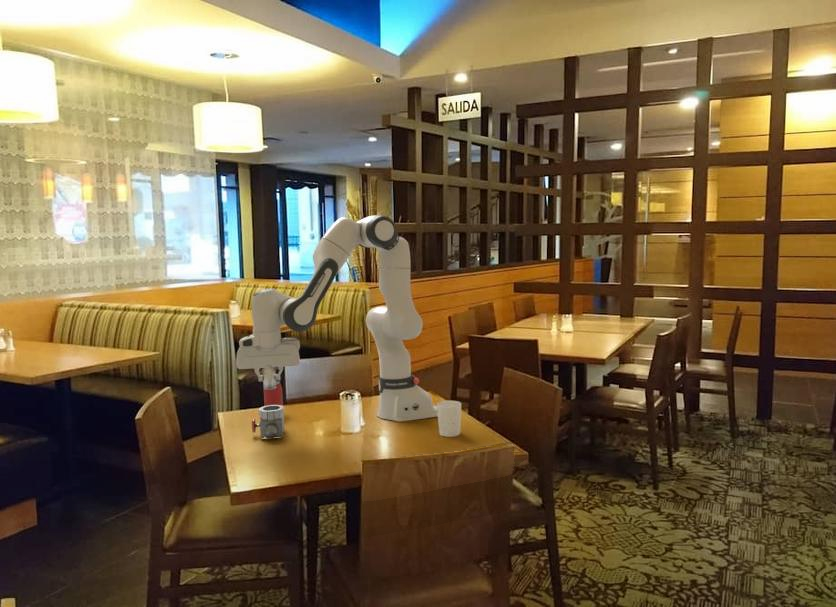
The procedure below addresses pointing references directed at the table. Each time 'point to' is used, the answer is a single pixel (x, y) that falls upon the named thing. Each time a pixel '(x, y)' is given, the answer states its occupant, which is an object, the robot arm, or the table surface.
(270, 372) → the pipe nipple
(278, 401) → the beer can
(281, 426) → the valve body
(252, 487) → the table surface
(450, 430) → the white cup
